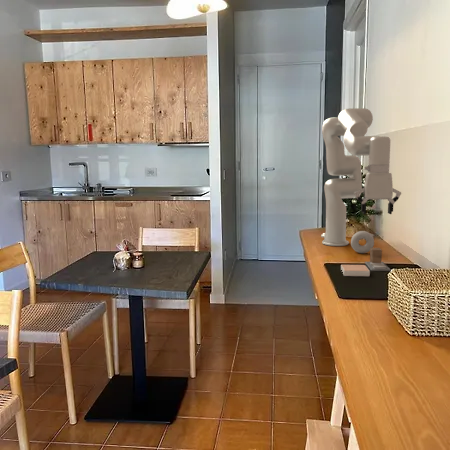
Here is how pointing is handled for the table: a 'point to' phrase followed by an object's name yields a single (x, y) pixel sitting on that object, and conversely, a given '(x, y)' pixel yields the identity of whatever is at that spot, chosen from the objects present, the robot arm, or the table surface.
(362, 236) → the donut
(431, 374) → the table surface
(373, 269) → the mat
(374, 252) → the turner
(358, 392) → the table surface
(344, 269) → the tile
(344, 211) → the robot arm
